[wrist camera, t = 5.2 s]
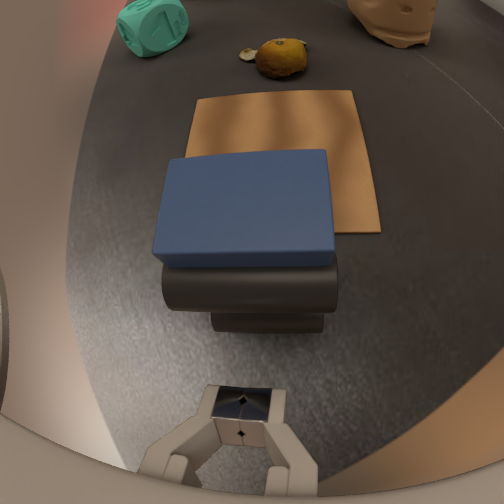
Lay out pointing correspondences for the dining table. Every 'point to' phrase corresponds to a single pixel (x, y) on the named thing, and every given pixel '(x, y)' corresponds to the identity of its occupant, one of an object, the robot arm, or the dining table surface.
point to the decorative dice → (152, 26)
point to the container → (396, 19)
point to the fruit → (278, 57)
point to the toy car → (250, 240)
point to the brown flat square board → (296, 141)
